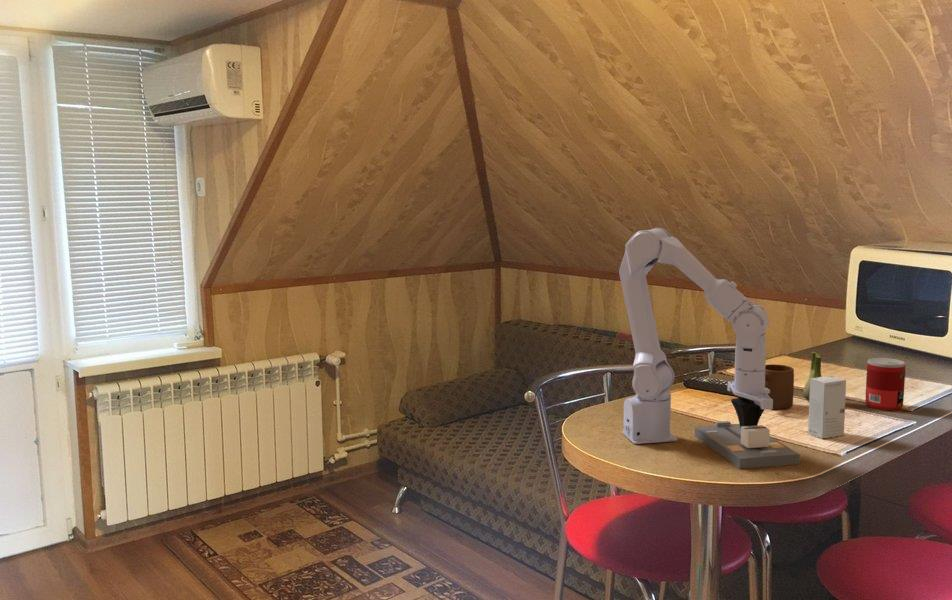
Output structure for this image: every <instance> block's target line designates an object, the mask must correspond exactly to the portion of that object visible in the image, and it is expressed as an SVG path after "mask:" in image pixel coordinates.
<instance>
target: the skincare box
mask: <svg viewBox="0 0 952 600" xmlns="http://www.w3.org/2000/svg"><path fill="white" fill-rule="evenodd" d="M846 390H847V380H846V379H844V378H840V377H837V376H832V375H829V376H821V377H818V378H811V379H810V398H809V401H808V402H809V403H808V404H809V405H808V426H807V427H808V428H807V433H808V435H810V434H811V436H813V435H814V436H813V437H815V436H817V437H816V438H818V437H820V438H819V439H821V438H825V439H831V438H830V437H832V438H837V437H836V436H838V437H842V436H841V435H843V436H844V435H845V417H846V416H845V414H846V413H845V412H846Z"/></svg>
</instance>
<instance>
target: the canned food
mask: <svg viewBox="0 0 952 600" xmlns="http://www.w3.org/2000/svg"><path fill="white" fill-rule="evenodd" d="M906 368H907V367H906V362H905V361H903V360H900V359H896V358H889V357H872V358H868V359H867V365H866V379H865V382H866V383H865V397H864V398H865V405H866V406H867V407H868V408H870V409H874V410H877V411H883V412H884V411H885V412H887V411H888V412H895V411H896V412H897V411H900V410H902V409H903V406H904V398H905V384H906V381H905V380H906Z"/></svg>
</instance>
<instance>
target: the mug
mask: <svg viewBox="0 0 952 600" xmlns="http://www.w3.org/2000/svg"><path fill="white" fill-rule="evenodd" d="M794 386H795V369H794V367H792V366H789V365H785V364H776V363H775V364H773V363H772V364H771V363H770V364H766V367H765V388H767V389H769V390H770V393H768V395H769V397H770V398H771V399H773V409H772V410H775V411H785V410H789V409H791V408H793V404H794Z"/></svg>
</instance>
